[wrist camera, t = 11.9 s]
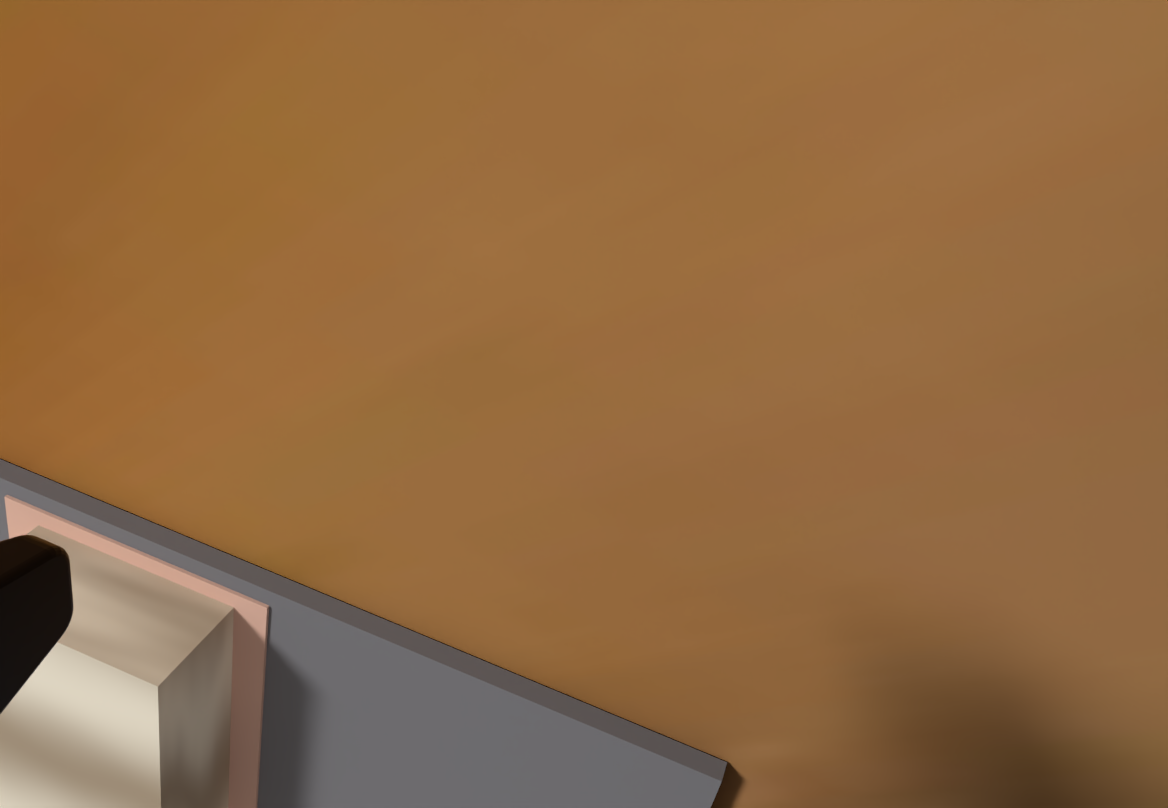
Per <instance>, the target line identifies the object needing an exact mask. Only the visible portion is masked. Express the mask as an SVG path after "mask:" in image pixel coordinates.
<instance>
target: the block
mask: <svg viewBox="0 0 1168 808" xmlns="http://www.w3.org/2000/svg"><path fill="white" fill-rule="evenodd" d="M26 535H33V536H37V537H39V538H41V539H44V540H46V541H48V542H51V543H53V544H55V545H58V546H60V547H62V548H63V549H65V551H66V552H67V554H68V555H69V559H70V569H71V581H72V594H73V614H72V618H71V621H70V624H69V626H68V627H67V629H66V631H65V633H64V634H63V635H62V637H61V638H60V639H59V641H58V642H57V643H56V644H55V646H54V647H53V648H52V650H51V651H50V652H49V653H48V655H47V656H46V657H45V658H44V660H43V661H42V662H41V663H40V665H39V666H38V667H37V669H36V670H35V671H34V672H33V674H32V675H31V676H30V677H29V679H28V680H27V681H26V683H25V684H24V685H23V686H22V688H21V689H20V690H19V691H18V693H17V694H16V695H15V697H14V698H13V699H12V700H11V702H10V703H9V704H8V705H7V707H6V708H5V709H4V710H3V712H2V713H1V714H0V808H228V802H229V766H230V729H231V692H232V655H233V619H234V607H232V606H229V605H227V604H224V603H222V602H220V601H217V600H215V599H213V598H210V597H208V596H205V595H203V594H201V593H198V592H196V591H194V590H191V589H189V588H186V587H184V586H182V585H179V584H177V583H175V582H172V581H170V580H167V579H165V578H163V577H160V576H158V575H156V574H153V573H151V572H148V571H146V570H144V569H141V568H139V567H137V566H134V565H132V564H129V563H127V562H125V561H122V560H120V559H118V558H115V557H113V556H110V555H108V554H106V553H103V552H101V551H99V550H96V549H94V548H91V547H89V546H87V545H84V544H82V543H80V542H77V541H75V540H72V539H70V538H68V537H65V536H63V535H61V534H58V533H56V532H53V531H51V530H49V529H46V528H44V527H42V526H39V525H38V526H37V527H36V528H34V529H33V530H32V531H30V532H29V533H27V534H26Z"/></svg>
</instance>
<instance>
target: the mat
mask: <svg viewBox="0 0 1168 808" xmlns="http://www.w3.org/2000/svg"><path fill="white" fill-rule="evenodd" d="M38 525H39V526H42V527H44V528H46V529H49V530H51V531H53V532H56V533H58V534H61V535H63V536H65V537H68V538H70V539H72V540H75V541H77V542H80V543H82V544H84V545H87V546H89V547H91V548H94V549H96V550H99V551H101V552H103V553H106V554H108V555H110V556H113V557H115V558H118V559H120V560H122V561H125V562H127V563H129V564H132V565H134V566H137V567H139V568H141V569H144V570H146V571H148V572H151V573H153V574H156V575H158V576H160V577H163V578H165V579H167V580H170V581H172V582H175V583H177V584H179V585H182V586H184V587H186V588H189V589H191V590H194V591H196V592H198V593H201V594H203V595H205V596H208V597H210V598H213V599H215V600H217V601H220V602H222V603H224V604H227V605H229V606H232V607H234V619H233V655H232V692H231V729H230V766H229V802H228V808H711V806H712V803H713V801H714V799H715V796H716V794H717V792H718V789H719V787H720V785H721V782H722V779H723V776H724V772H725V768H726V765H727V762H725V761H723V760H720V759H718V758H716V757H713V756H711V755H708V754H706V753H704V752H701V751H699V750H696V749H694V748H692V747H689V746H687V745H684V744H682V743H680V742H677V741H675V740H672V739H670V738H668V737H665V736H663V735H660V734H658V733H656V732H653V731H651V730H648V729H646V728H644V727H641V726H639V725H636V724H634V723H632V722H629V721H627V720H624V719H622V718H620V717H617V716H615V715H613V714H610V713H608V712H605V711H603V710H601V709H598V708H596V707H593V706H591V705H589V704H586V703H584V702H581V701H579V700H577V699H574V698H572V697H569V696H567V695H565V694H562V693H560V692H557V691H555V690H553V689H550V688H548V687H545V686H543V685H541V684H538V683H536V682H533V681H531V680H529V679H526V678H524V677H521V676H519V675H517V674H514V673H512V672H509V671H507V670H505V669H502V668H500V667H497V666H495V665H493V664H490V663H488V662H485V661H483V660H481V659H478V658H476V657H473V656H471V655H469V654H466V653H464V652H461V651H459V650H457V649H454V648H452V647H450V646H447V645H445V644H442V643H440V642H438V641H435V640H433V639H430V638H428V637H426V636H423V635H421V634H418V633H416V632H414V631H411V630H409V629H406V628H404V627H402V626H399V625H397V624H394V623H392V622H390V621H387V620H385V619H382V618H380V617H378V616H375V615H373V614H370V613H368V612H366V611H363V610H361V609H358V608H356V607H354V606H351V605H349V604H346V603H344V602H342V601H339V600H337V599H334V598H332V597H330V596H327V595H325V594H322V593H320V592H318V591H315V590H313V589H310V588H308V587H306V586H303V585H301V584H299V583H296V582H294V581H291V580H289V579H287V578H284V577H282V576H279V575H277V574H275V573H272V572H270V571H267V570H265V569H263V568H260V567H258V566H255V565H253V564H251V563H248V562H246V561H243V560H241V559H239V558H236V557H234V556H231V555H229V554H227V553H224V552H222V551H219V550H217V549H215V548H212V547H210V546H207V545H205V544H203V543H200V542H198V541H195V540H193V539H191V538H188V537H186V536H183V535H181V534H179V533H176V532H174V531H171V530H169V529H167V528H164V527H162V526H159V525H157V524H155V523H152V522H150V521H148V520H145V519H143V518H140V517H138V516H136V515H133V514H131V513H128V512H126V511H124V510H121V509H119V508H116V507H114V506H112V505H109V504H107V503H104V502H102V501H100V500H97V499H95V498H92V497H90V496H88V495H85V494H83V493H80V492H78V491H76V490H73V489H71V488H68V487H66V486H64V485H61V484H59V483H56V482H54V481H52V480H49V479H47V478H44V477H42V476H40V475H37V474H35V473H32V472H30V471H28V470H25V469H23V468H20V467H18V466H16V465H13V464H11V463H8V462H6V461H4V460H1V459H0V541H3V540H6V539H10V538H13V537H16V536H21V535H26V534H27V533H29V532H30V531H32V530H33V529H34V528H36V527H37V526H38Z"/></svg>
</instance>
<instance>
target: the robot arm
mask: <svg viewBox="0 0 1168 808" xmlns="http://www.w3.org/2000/svg"><path fill="white" fill-rule="evenodd" d="M72 614H73V594H72V581H71V569H70V559H69V555H68V554H67V552H66V551H65V549H63V548H62V547H60V546H58V545H55V544H53V543H51V542H48V541H46V540H44V539H41V538H39V537H37V536H33V535H21V536H16V537H13V538H10V539H6V540H3V541H0V714H1V713H2V712H3V710H4V709H5V708H6V707H7V705H8V704H9V703H10V702H11V700H12V699H13V698H14V697H15V695H16V694H17V693H18V691H19V690H20V689H21V688H22V686H23V685H24V684H25V683H26V681H27V680H28V679H29V677H30V676H31V675H32V674H33V672H34V671H35V670H36V669H37V667H38V666H39V665H40V663H41V662H42V661H43V660H44V658H45V657H46V656H47V655H48V653H49V652H50V651H51V650H52V648H53V647H54V646H55V644H56V643H57V642H58V641H59V639H60V638H61V637H62V635H63V634H64V633H65V631H66V629H67V627H68V626H69V624H70V621H71V618H72Z"/></svg>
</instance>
